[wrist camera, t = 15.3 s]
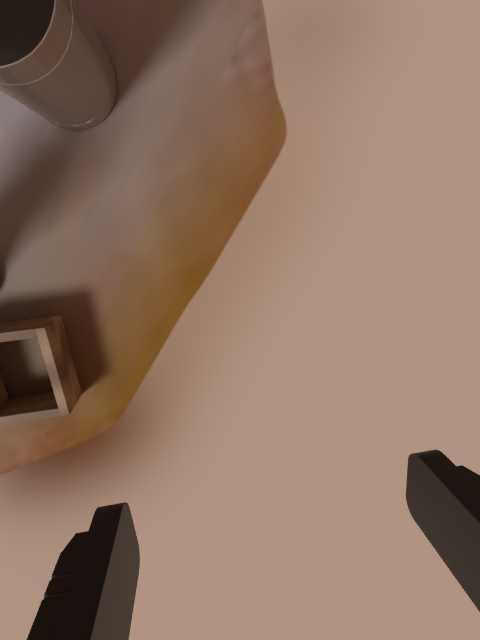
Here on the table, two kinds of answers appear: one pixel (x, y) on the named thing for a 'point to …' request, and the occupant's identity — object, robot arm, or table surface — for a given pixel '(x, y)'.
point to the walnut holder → (58, 367)
